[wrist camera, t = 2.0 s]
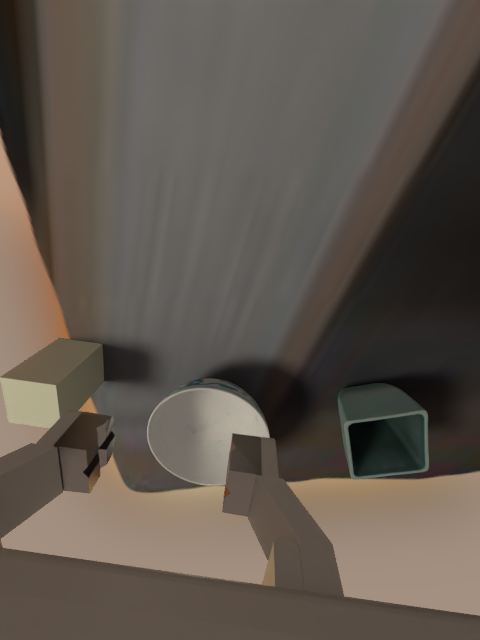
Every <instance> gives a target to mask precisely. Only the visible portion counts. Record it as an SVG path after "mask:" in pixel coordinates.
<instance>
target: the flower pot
mask: <svg viewBox="0 0 480 640" xmlns="http://www.w3.org/2000/svg"><path fill="white" fill-rule="evenodd" d="M338 407H339V414H340V421H341V428H342V435H343V443H344V449H345V453H346V458H347V462H348V467H349V471H350V475H351V478H352V479H366V478H374V477H381V476H390V475H399V474H409V473H419V472H424V471H427V470H428V469H429V455H428V413H427V411H426V410H425V409H423V408H422V407H421V406H420V405H419V404H418V403H417V402H415V401H414V400H413V399H412V398H411V397H410V396H409V395H407V394H406V393H405V392H404V391H402V390H401V389H399V388H397V387H395V386H392V385H389V384H383V383H373V384H367V385H361V386H355V387H348V388H344V389H342V390H341V391H340V393H339V395H338Z"/></svg>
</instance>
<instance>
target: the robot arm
mask: <svg viewBox="0 0 480 640" xmlns="http://www.w3.org/2000/svg"><path fill="white" fill-rule="evenodd" d="M114 426H115V424H114V418H113V417H112V416H107V415H101V414H95V413H89V412H81V411H75V410H69V411H66V412H65V413H64V414H63V415H62V416H61V417H60V419H59V420H58V421H57V422H56V423H55V424H54V425H53V426H52V427H51V428H50V429H49V430H48V431H47V432H46V434H45V435H44V436H43V437H42V438H41V439H40V440H39V441H38V442H37V443H36V444H32V443H31V444H29V445H26V446H24V447H22V448H20V449H18V450H16V451H14V452H11V453H9V454H7V455H5V456H3V457H1V458H0V640H480V616H477V615H470V614H463V613H456V612H449V611H442V610H435V609H428V608H421V607H414V606H407V605H399V604H393V603H386V602H379V601H372V600H365V599H358V598H351V597H344V594H343V589H342V585H341V580H340V576H339V571H338V567H337V563H336V558H335V554H334V549H333V545H332V544H331V542H330V540H329V539H328V538H327V536H326V535H325V534H324V532H323V531H322V530H321V529H320V527H319V526H318V524H317V523H316V522H315V520H314V519H313V518H312V516H311V515H310V514H309V513H308V511H307V510H306V509H305V507H304V506H303V505H302V503H301V502H300V501H299V499H298V498H297V497H296V495H295V494H294V493H293V491H292V490H291V489H290V487H289V486H288V485H287V483H286V482H285V481H284V479H280V478H279V475H278V463H277V452H276V441H275V439H274V438H266V437H257V436H250V435H242V434H235V433H232V439H231V446H230V452H229V459H228V466H227V474H226V485H225V492H224V501H223V512H225V513H230V514H236V515H242V516H247V517H248V519H249V521H250V523H251V526H252V528H253V530H254V531H255V534H256V536H257V538H258V540H259V543H260V545H261V547H262V549H263V551H264V553H265V555H266V557H267V560H268V564H267V569H266V572H265V576H264V580H263V583H262V585H259V584H253V583H245V582H238V581H231V580H224V579H217V578H210V577H203V576H196V575H189V574H182V573H175V572H168V571H161V570H153V569H146V568H139V567H132V566H125V565H118V564H111V563H104V562H97V561H90V560H83V559H76V558H69V557H62V556H55V555H48V554H41V553H34V552H27V551H20V550H13V549H6V548H3V546H2V543H1V538H2V537H4V536H5V535H6V534H8V533H9V532H10V531H11V530H13V529H14V528H16V527H17V526H18V525H20V524H21V523H22V522H23V521H25V520H26V519H28V518H29V517H30V516H32V515H33V514H34V513H35V512H37V511H38V510H40V509H41V508H42V507H44V506H45V505H46V504H48V503H49V502H50V501H52V500H53V499H54V498H56V497H57V496H58V495H60V494H61V493H62V492H63V490H64V491H73V492H82V493H90V492H91V490H92V489H93V487H94V485H95V484H96V482H97V480H98V478H99V477H100V468H101V467H103V466H105V465H106V464H107V463H108V461H109V459H110V458H111V455H112V452H113V450H114V445H115V435H114V434H113V432H112V431H111V430H112V429H113V427H114Z"/></svg>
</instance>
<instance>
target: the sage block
mask: <svg viewBox="0 0 480 640" xmlns="http://www.w3.org/2000/svg"><path fill="white" fill-rule="evenodd" d="M0 381H1V386H2V391H3V396H4V401H5V406H6V411H7V416H8V421H9V423H17V424H23V425H31V426H37V427H44V428H51V427H52V426H53V425H54V424H55V423H56V422H57V421H58V420H59V419H60V417H61V416H62V415H63V414H64V413H65V412H66V411H69V410H75V411H78V410H79V409H80V408H81V407H82V406H83V405H84V403H85V402H86V401H87V400H88V399H89V398H90V397H91V395H92V394H93V393H94V392H95V391H96V390H97V389H98V387H99V386H100V385H101V384H102V383H103V382H104V365H103V344H99V343H92V342H85V341H78V340H71V339H64V338H59V339H57V340H55V341H54V342H52V343H51V344H49V345H48V346H46V347H45V348H43V349H42V350H40V351H39V352H38V353H36V354H34V355H33V356H31V357H30V358H28V359H27V360H25V361H24V362H22V363H21V364H19V365H18V366H16V367H15V368H13V369H12V370H10V371H9V372H7V373H6V374H4V375H3V376H1V377H0Z"/></svg>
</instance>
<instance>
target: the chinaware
mask: <svg viewBox="0 0 480 640" xmlns="http://www.w3.org/2000/svg"><path fill="white" fill-rule="evenodd" d="M232 433H235V434H242V435H250V436H257V437H266V438H270V434H269V429H268V426H267V423H266V420H265V417H264V415H263V413H262V411H261V409H260V408H259V406H258V405H257V403H256V402H255V400H254V399H253V398H252V397H251V396H250V395H249V394H248V393H247V392H246V391H245V390H243V389H242V388H240V387H239V386H237V385H235V384H233V383H231V382H228V381H225V380H221V379H213V378H206V379H198V380H194V381H191V382H188V383H186V384H184V385H182V386H180V387H178V388H176V389H175V390H173V391H172V392H171V393H170V394H168V395H167V396H166V397H165V398H164V399H163V400H162V401H161V402H160V403H159V404H158V406H157V407H156V408H155V410H154V411H153V413H152V415H151V417H150V419H149V422H148V427H147V438H148V443H149V446H150V449H151V451H152V453H153V455H154V456H155V458H156V459H157V460H158V462H159V463H160V464H161V465H162V466H163V467H164V468H165V469H167V470H168V471H169V472H171V473H172V474H174V475H176V476H177V477H179V478H181V479H184V480H186V481H189V482H192V483H196V484H201V485H211V486H217V485H226V474H227V466H228V459H229V452H230V446H231V439H232Z"/></svg>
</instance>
